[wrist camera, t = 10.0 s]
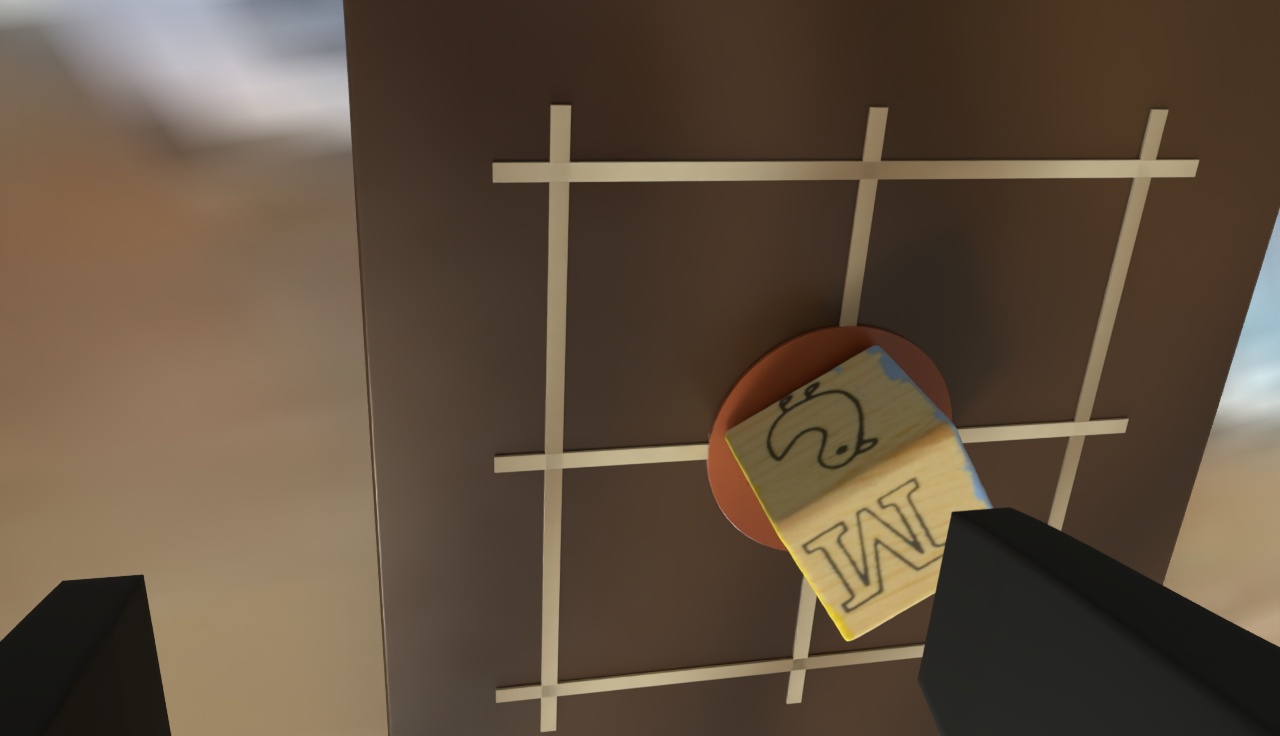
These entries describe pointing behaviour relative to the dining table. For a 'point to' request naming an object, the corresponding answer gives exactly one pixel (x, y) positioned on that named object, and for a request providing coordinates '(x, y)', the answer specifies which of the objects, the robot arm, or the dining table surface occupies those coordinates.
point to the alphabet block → (860, 486)
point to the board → (770, 318)
